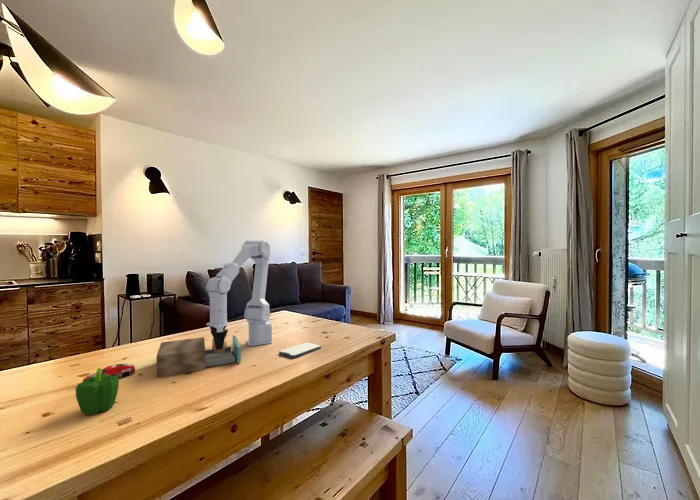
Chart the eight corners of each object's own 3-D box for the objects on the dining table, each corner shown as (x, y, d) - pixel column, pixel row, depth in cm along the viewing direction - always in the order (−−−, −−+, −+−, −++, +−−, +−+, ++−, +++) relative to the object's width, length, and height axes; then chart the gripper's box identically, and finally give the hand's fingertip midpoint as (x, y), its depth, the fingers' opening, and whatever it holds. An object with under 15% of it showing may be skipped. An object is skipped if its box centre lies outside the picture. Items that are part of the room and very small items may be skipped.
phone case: (306, 345, 131) (277, 355, 118) (306, 341, 131) (277, 351, 118) (322, 349, 126) (293, 360, 113) (322, 345, 126) (293, 356, 113)
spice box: (204, 354, 118) (203, 337, 118) (205, 369, 104) (205, 349, 104) (161, 361, 112) (161, 342, 112) (156, 377, 98) (156, 356, 98)
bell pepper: (108, 416, 75) (107, 375, 75) (68, 420, 73) (68, 379, 73) (125, 400, 83) (125, 363, 83) (90, 403, 82) (90, 365, 82)
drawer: (235, 349, 123) (235, 335, 123) (240, 362, 109) (240, 346, 109) (196, 355, 117) (196, 340, 117) (197, 370, 103) (197, 352, 103)
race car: (84, 390, 90) (84, 376, 90) (80, 384, 94) (80, 371, 94) (137, 375, 100) (137, 362, 100) (131, 371, 104) (131, 359, 104)
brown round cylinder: (226, 348, 116) (226, 336, 116) (226, 352, 112) (226, 339, 112) (212, 350, 115) (212, 337, 115) (211, 354, 110) (211, 341, 110)
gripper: (205, 307, 118) (206, 343, 118) (207, 315, 105) (207, 355, 105) (225, 306, 121) (225, 340, 121) (229, 313, 108) (229, 351, 108)
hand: (218, 347), depth 113 cm, fingers closed on brown round cylinder, 5 cm apart
